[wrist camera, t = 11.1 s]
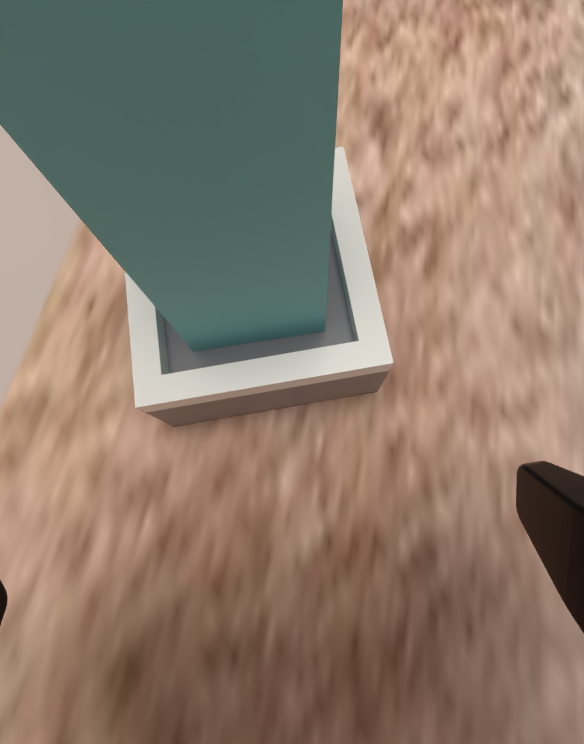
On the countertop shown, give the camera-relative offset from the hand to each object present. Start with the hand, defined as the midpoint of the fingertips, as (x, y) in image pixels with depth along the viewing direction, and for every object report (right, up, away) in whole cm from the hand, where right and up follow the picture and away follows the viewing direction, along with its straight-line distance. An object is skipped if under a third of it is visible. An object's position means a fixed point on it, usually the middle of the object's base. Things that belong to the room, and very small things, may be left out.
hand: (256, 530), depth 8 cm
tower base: (-1, +5, +14) cm, 15 cm away
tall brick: (-1, +6, +10) cm, 12 cm away
